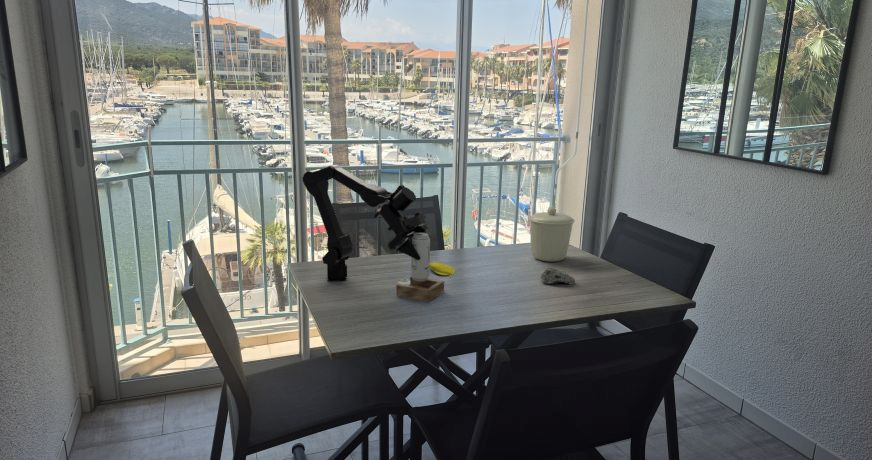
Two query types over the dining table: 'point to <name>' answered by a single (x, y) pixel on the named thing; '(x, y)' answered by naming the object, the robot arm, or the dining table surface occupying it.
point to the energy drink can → (421, 266)
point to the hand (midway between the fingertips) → (424, 257)
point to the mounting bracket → (404, 282)
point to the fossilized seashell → (556, 277)
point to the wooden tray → (421, 289)
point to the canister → (550, 235)
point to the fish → (442, 269)
